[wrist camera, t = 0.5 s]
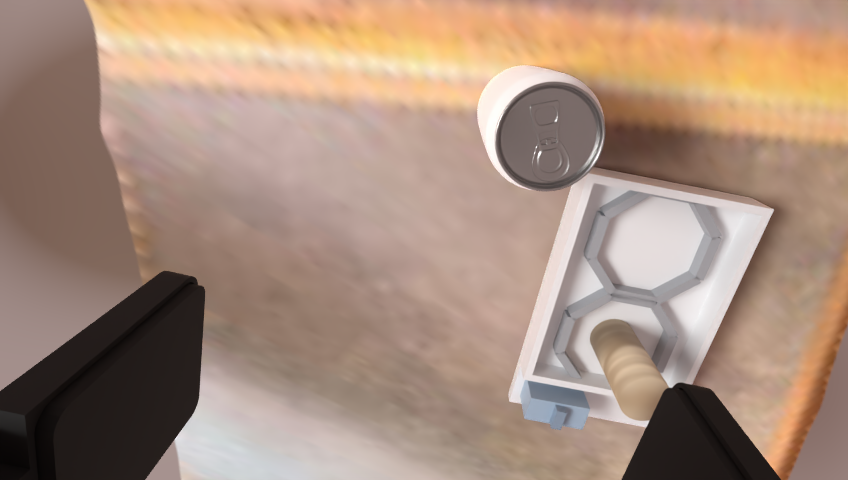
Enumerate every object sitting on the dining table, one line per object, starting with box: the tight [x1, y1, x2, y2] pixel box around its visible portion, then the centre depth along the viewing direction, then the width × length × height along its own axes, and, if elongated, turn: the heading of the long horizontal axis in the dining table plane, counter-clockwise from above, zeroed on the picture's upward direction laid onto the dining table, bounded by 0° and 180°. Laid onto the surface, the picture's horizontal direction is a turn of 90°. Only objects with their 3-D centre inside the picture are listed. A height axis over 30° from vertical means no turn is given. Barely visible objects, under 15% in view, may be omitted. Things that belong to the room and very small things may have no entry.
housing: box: [508, 167, 774, 427], centre depth 40 cm, size 22×14×3 cm, turn 170°
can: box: [477, 65, 605, 191], centre depth 31 cm, size 6×6×12 cm
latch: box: [520, 380, 590, 430], centre depth 42 cm, size 2×5×4 cm, turn 80°
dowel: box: [590, 319, 669, 421], centre depth 38 cm, size 4×4×8 cm
